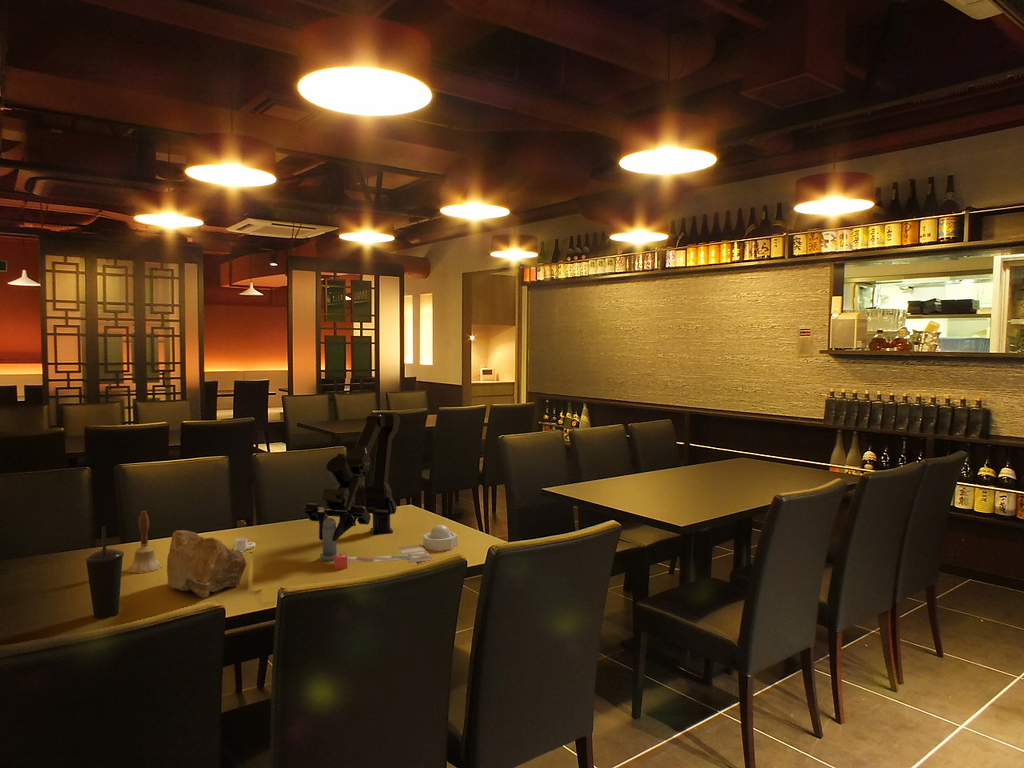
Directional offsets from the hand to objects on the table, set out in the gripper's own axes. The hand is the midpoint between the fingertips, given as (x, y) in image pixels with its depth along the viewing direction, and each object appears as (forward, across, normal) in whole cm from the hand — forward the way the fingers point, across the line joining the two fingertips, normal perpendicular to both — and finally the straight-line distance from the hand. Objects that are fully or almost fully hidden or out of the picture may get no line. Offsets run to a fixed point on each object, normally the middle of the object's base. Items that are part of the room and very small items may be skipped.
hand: (327, 540), depth 193 cm
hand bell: (+16, -47, -6) cm, 50 cm away
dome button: (-13, +24, +22) cm, 35 cm away
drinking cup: (+37, -30, -27) cm, 55 cm away
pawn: (+3, 0, +5) cm, 6 cm away
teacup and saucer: (+1, -28, +10) cm, 30 cm away
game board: (+1, +12, +9) cm, 15 cm away
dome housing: (-12, +24, +22) cm, 35 cm away
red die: (+8, +7, +1) cm, 10 cm away
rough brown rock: (+22, -19, -12) cm, 32 cm away
